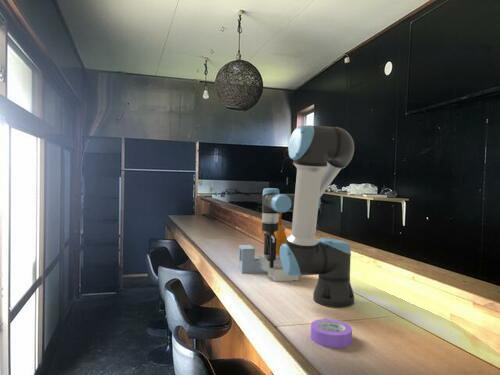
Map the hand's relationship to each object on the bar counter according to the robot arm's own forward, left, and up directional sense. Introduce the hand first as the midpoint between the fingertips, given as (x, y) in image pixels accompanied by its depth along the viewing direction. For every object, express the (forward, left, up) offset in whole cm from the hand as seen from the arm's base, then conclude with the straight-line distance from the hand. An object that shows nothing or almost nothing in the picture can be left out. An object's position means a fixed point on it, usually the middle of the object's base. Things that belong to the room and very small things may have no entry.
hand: (269, 272), depth 171 cm
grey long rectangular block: (0, -5, +2) cm, 6 cm away
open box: (+15, 0, -2) cm, 15 cm away
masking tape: (-64, -3, -3) cm, 64 cm away
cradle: (0, -7, -2) cm, 7 cm away
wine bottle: (+30, -12, -3) cm, 32 cm away
